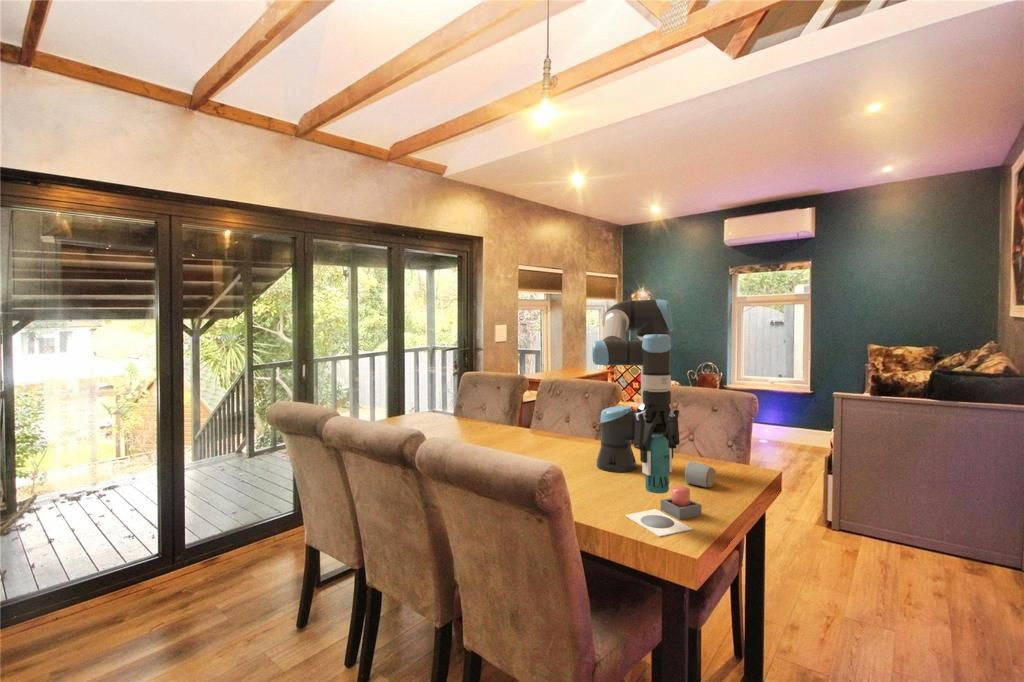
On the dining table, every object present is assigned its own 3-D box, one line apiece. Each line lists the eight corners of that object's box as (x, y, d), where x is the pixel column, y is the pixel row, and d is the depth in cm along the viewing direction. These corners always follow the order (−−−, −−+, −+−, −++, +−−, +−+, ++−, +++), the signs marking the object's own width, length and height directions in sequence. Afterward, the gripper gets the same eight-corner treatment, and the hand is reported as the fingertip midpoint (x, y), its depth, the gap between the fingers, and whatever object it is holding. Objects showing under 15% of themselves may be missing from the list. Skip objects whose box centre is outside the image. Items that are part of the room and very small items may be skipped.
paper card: (624, 516, 138) (624, 514, 138) (655, 510, 142) (655, 508, 142) (659, 537, 124) (659, 535, 124) (692, 529, 128) (692, 528, 128)
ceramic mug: (708, 490, 158) (708, 467, 158) (684, 485, 163) (684, 463, 163) (719, 483, 165) (720, 461, 165) (696, 478, 171) (696, 457, 171)
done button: (668, 504, 141) (668, 487, 141) (681, 501, 143) (681, 485, 143) (680, 510, 137) (680, 492, 137) (693, 507, 139) (693, 490, 138)
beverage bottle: (644, 497, 131) (643, 425, 130) (646, 489, 137) (645, 420, 136) (668, 500, 128) (668, 427, 128) (670, 492, 135) (669, 422, 134)
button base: (660, 509, 142) (660, 499, 142) (681, 505, 145) (681, 495, 145) (679, 519, 135) (679, 509, 135) (701, 515, 138) (701, 504, 138)
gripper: (636, 393, 125) (636, 480, 125) (693, 389, 132) (694, 471, 133) (619, 390, 132) (619, 472, 132) (675, 386, 139) (675, 464, 140)
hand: (657, 472), depth 133 cm, fingers closed on beverage bottle, 6 cm apart
